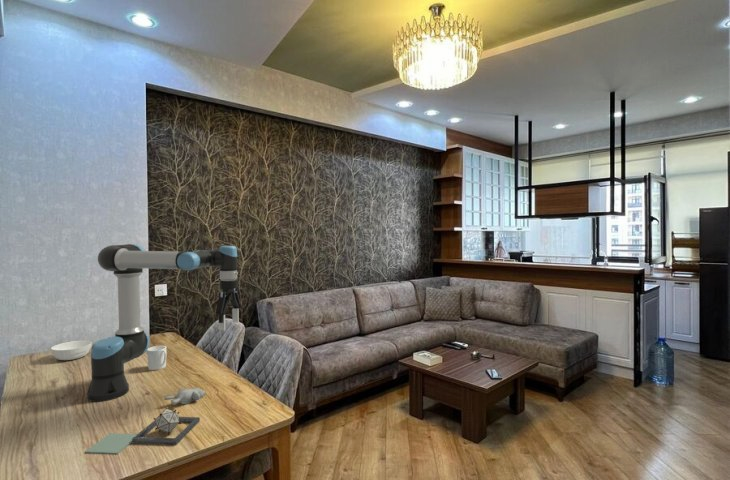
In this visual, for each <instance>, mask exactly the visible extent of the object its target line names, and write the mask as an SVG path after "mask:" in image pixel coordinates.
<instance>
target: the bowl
mask: <svg viewBox="0 0 730 480" xmlns="http://www.w3.org/2000/svg"><path fill="white" fill-rule="evenodd" d="M92 346H93V342H92V341H91V340H85V339H84V340H74V341H73V340H72V341H67V342H62V343H59V344H55V345H53V346H51V347H50V352H51V354H52V355H53V357H54V358H56V359H57V360H60V361H72V360H78V359H80V358H83V357H84V356H86V355H88V353H89V352H90V350H91V349H92Z"/></svg>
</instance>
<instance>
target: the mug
mask: <svg viewBox="0 0 730 480" xmlns="http://www.w3.org/2000/svg"><path fill="white" fill-rule="evenodd" d="M167 348H168V347H167V346H166V345H154V346H151V347H150V346H149V348H148V349H147V351H146V355H147V368H148V369H147V370H148V371H151V372H153V371H154V372H155V371H160V370H164V369H165V368H166V367H167V357H168V355H167V354H168V353H167Z"/></svg>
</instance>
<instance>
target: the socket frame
mask: <svg viewBox="0 0 730 480" xmlns="http://www.w3.org/2000/svg"><path fill="white" fill-rule="evenodd" d="M178 417H179V422H182V423H186V424H187V423H188V425H187V426H186V427H185V428H184V429H183V430H182V431H181V432H180V433H179V434H178V435H177V436H176V437H157V436H156V437H154V436H152V437H151V436H150V437H148V436H146V435H147V434H149V432H151V431H152V430H153V429H154V428H157V426H156V420H154V421H152V422H151V423H150V424H148V425H147V426H146V427H145V428H143V429H142V430H141V431H140V432H138V433H136V434H137V435H136V436H135V437H133V438H132V443H131V444H144V445H145V444H146V445H170V446H171V445H175V446H177V445H178V444H179V443H180V442H181V441H182V440H183V439H184V438H185V437H186V436H187V435H188V434H189V433H190V432H191V431H192V430H194V428H195V427H196V426H197V424H199V423H200V421H201V419H200V417H198V416H178Z"/></svg>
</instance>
